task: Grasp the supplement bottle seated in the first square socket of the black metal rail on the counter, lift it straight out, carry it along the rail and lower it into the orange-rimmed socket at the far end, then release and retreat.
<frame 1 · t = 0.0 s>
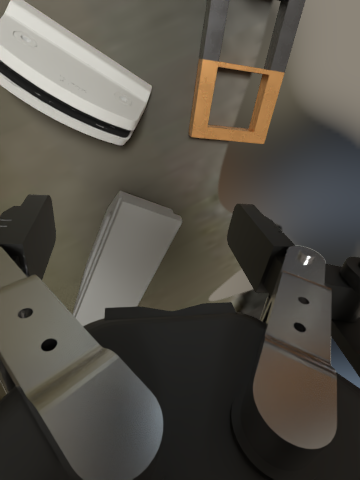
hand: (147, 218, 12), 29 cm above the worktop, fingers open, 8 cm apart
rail: (246, 32, 33), on the worktop
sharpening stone: (119, 242, 47), on the worktop
white rounded device: (79, 78, 33), on the worktop
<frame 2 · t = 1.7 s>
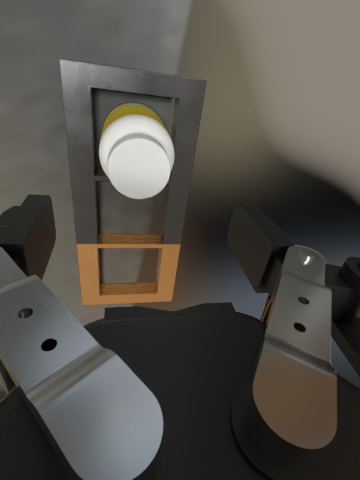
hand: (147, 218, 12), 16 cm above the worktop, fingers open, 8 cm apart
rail: (131, 206, 29), on the worktop
supplement bottle: (133, 132, 25), resting in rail
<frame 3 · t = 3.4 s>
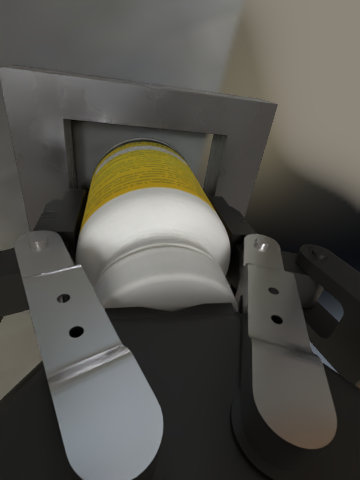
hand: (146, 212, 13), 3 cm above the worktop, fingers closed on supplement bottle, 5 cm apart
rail: (136, 286, 19), on the worktop
supplement bottle: (142, 185, 15), resting in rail, touching gripper
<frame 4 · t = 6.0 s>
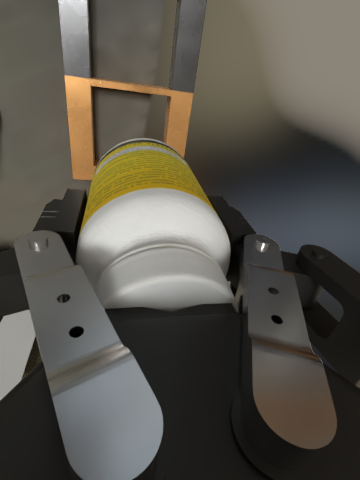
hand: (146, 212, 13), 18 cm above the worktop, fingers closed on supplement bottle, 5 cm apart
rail: (133, 35, 23), on the worktop
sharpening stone: (12, 299, 37), on the worktop
supplement bottle: (142, 185, 15), point 15 cm above the worktop, touching gripper
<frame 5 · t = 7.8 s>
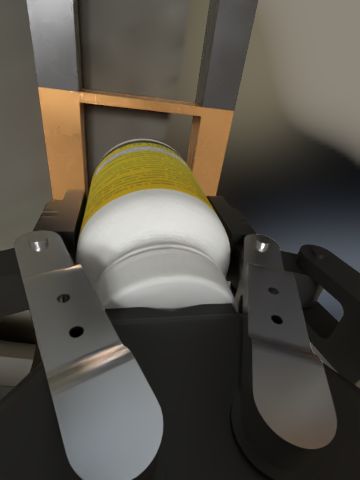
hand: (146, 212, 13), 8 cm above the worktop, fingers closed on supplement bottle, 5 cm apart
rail: (144, 25, 15), on the worktop
supplement bottle: (142, 185, 15), point 5 cm above the worktop, touching gripper
when the fingers open (4 cm above the worktop, at t = 9.0 s): supplement bottle drops 1 cm, resting in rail.
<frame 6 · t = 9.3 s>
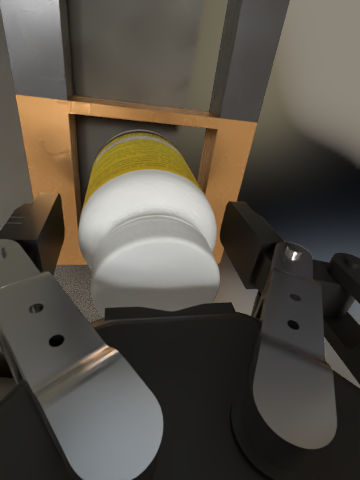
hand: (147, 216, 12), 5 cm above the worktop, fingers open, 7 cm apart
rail: (149, 18, 12), on the worktop
supplement bottle: (139, 174, 16), resting in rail
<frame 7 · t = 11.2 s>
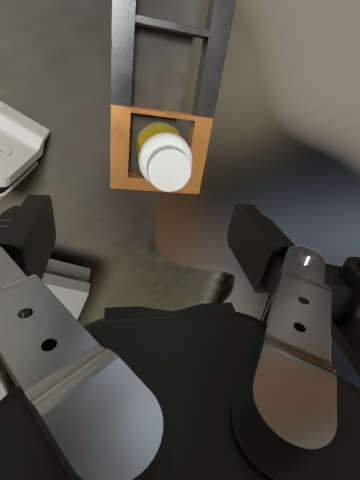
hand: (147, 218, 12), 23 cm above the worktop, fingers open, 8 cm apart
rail: (165, 72, 29), on the worktop
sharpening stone: (45, 295, 42), on the worktop
supplement bottle: (157, 144, 33), resting in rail
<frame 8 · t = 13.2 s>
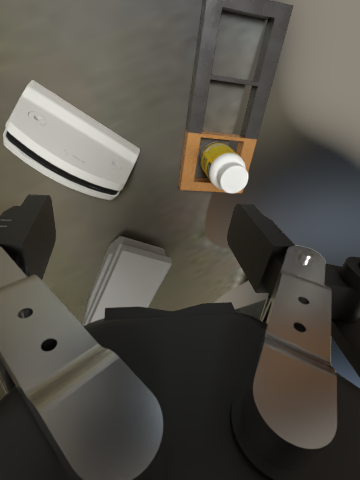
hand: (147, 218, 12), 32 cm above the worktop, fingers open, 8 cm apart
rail: (224, 108, 41), on the worktop
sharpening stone: (119, 271, 54), on the worktop
supplement bottle: (214, 157, 45), resting in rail
white rounded device: (79, 140, 40), on the worktop
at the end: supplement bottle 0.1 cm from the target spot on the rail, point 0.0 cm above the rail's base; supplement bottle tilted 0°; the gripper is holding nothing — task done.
